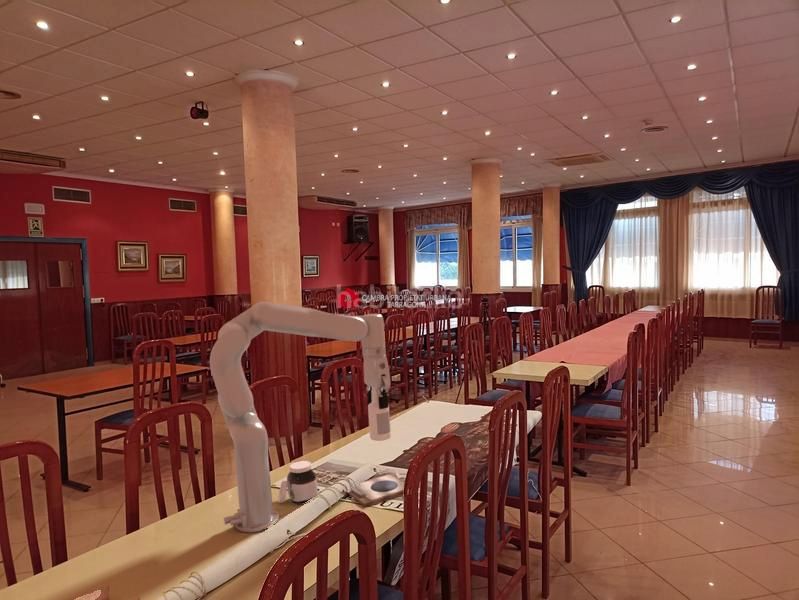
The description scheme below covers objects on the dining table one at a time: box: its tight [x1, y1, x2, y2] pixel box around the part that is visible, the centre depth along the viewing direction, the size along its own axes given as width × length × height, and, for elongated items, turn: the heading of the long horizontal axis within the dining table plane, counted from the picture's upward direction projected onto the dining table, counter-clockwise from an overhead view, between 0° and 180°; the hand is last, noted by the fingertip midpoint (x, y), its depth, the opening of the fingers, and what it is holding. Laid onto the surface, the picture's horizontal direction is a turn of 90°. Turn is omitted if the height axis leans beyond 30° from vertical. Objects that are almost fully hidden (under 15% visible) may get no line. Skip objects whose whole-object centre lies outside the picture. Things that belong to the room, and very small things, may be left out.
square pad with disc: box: [348, 472, 404, 508], centre depth 179 cm, size 18×16×2 cm
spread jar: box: [277, 460, 318, 505], centre depth 176 cm, size 12×11×12 cm
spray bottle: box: [367, 385, 392, 442], centre depth 178 cm, size 7×7×18 cm
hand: (378, 405), depth 177 cm, fingers closed on spray bottle, 6 cm apart
